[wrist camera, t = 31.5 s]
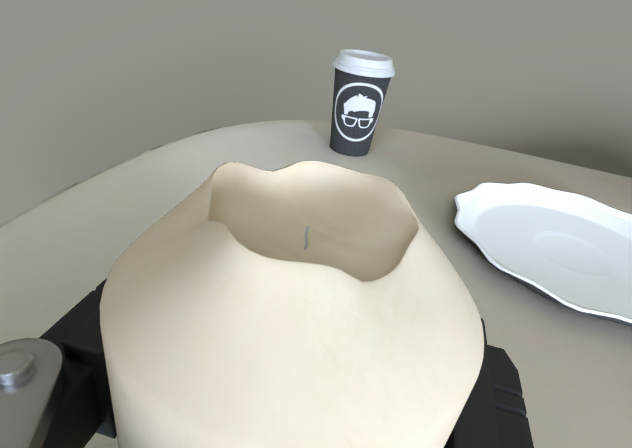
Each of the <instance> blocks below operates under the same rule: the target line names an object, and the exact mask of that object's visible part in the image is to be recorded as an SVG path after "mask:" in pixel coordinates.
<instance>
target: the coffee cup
mask: <svg viewBox="0 0 632 448" xmlns="http://www.w3.org/2000/svg"><path fill="white" fill-rule="evenodd" d="M333 66H334V67H335V82H334V98H333V112H332V125H331V139H330V147H331V149H333V150H334V151H336V152H338V153H340V154H344V155H348V156H363V155H366V154H367V153H368V151H369V148H370V144H371V141H372V138H373V134H374V131H375V128H376V124H377V121H378V118H379V114H380V111H381V108H382V104H383V101H384V98H385V95H386V91H387V88H388V85H389V82H390V79H391V77H393V76H394V75H395V70H394V66H393V65H392V58H391V57H389V56H386V55H383V54H380V53H376V52H371V51H366V50H357V49H343V50H341V51H340V53H339V56H338V57H336V58H335V60H334V62H333Z"/></svg>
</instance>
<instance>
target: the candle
mask: <svg viewBox="0 0 632 448" xmlns="http://www.w3.org/2000/svg"><path fill="white" fill-rule="evenodd" d="M100 327H101V334H102V341H103V348H104V354H105V361H106V367H107V374H108V380H109V387H110V393H111V399H112V406H113V412H114V419H115V425H116V432H117V438H118V444H119V448H444V446H445V444H446V442H447V440H448V438H449V436H450V434H451V432H452V430H453V428H454V426H455V424H456V422H457V419H458V417H459V415H460V413H461V411H462V409H463V407H464V405H465V403H466V401H467V399H468V397H469V395H470V393H471V391H472V389H473V387H474V384H475V382H476V380H477V378H478V375H479V372H480V368H481V365H482V361H483V354H484V335H483V327H482V322H481V319H480V316H479V312H478V309H477V307H476V305H475V303H474V301H473V299H472V297H471V295H470V293H469V291H468V289H467V287H466V286H465V284H464V283H463V281H462V279H461V278H460V276H459V275H458V273H457V272H456V270H455V269H454V267H453V266H452V264H451V263H450V261H449V260H448V258H447V257H446V255H445V254H444V253H443V251H442V250H441V248H440V247H439V246H438V245H437V243H436V242H435V241H434V239H433V238H432V237H431V235H430V234H429V233H428V231H427V230H426V228H425V227H424V226H423V224H422V223H421V221H420V220H419V219H418V217H417V216H416V214H415V212H414V211H413V209H412V207H411V206H410V204H409V202H408V200H407V199H406V197H405V196H404V194H403V192H402V191H401V189H400V188H399V187H397V186H396V185H395V184H394V183H393V182H392V181H390V180H388V179H385V178H383V177H379V176H375V175H369V174H364V173H360V172H356V171H352V170H349V169H346V168H343V167H339V166H336V165H332V164H328V163H324V162H317V161H303V162H297V163H295V164H292V165H290V166H287V167H284V168H281V169H278V170H274V171H267V170H261V169H256V168H254V167H251V166H248V165H245V164H241V163H236V162H232V163H224V164H222V165H220V166H219V167H217V168H216V169H215V170H214V172H213V173H212V174H211V175H210V176H209V177H208V178H207V180H206V181H205V182H204V183H203V184H202V185H201V186H200V187H199V188H197V189H196V190H195V191H194V192H193V193H191V194H190V195H189V196H188V197H187V198H185V199H184V200H183V201H182V202H181V203H179V204H178V205H177V206H176V207H174V208H173V209H172V210H171V211H170V212H168V213H167V214H166V215H165V216H164V217H162V218H161V219H160V220H159V221H158V222H156V223H155V224H154V225H153V226H152V227H150V228H149V229H148V230H147V231H146V232H144V233H143V234H142V235H141V236H140V237H139V238H137V239H136V240H135V241H134V242H133V243H132V244H131V245H130V246H129V247H128V248H127V249H126V250H125V251H124V252H123V254H122V255H121V256H120V257H119V258H118V260H117V261H116V263H115V265H114V266H113V268H112V269H111V271H110V273H109V275H108V278H107V280H106V282H105V285H104V287H103V292H102V297H101V302H100Z"/></svg>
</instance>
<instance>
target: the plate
mask: <svg viewBox="0 0 632 448" xmlns="http://www.w3.org/2000/svg"><path fill="white" fill-rule="evenodd" d="M454 202H455V205H456V208H457V214H456V218H455V221H454V224H455V226H456V228H457V229H458V230H459V231H460V232H461V233H462V234H464V235H465V236H466V237H467V238H468V239H469V240H471V241H472V242H473V243H474V244H475V245H476V246H477V247H478V249H479V250H480V251H481V253H482V254H483V255H484V257H485V258H486V259H487V261H488V262H489V263H490V264H491V265H492V266H494V267H495V268H496V269H498V270H499V271H501V272H503V273H505V274H507V275H508V276H510V277H512V278H513V279H515V280H516V281H518V282H519V283H521V284H523V285H524V286H526V287H527V288H529V289H530V290H532V291H533V292H535V293H538V294H540V295H542V296H544V297H546V298H548V299H550V300H552V301H554V302H556V303H559V304H561V305H562V306H564V307H567V308H569V309H572V310H574V311H577V312H579V313H584V314H588V315H591V316H594V317H597V318H601V319H606V320H611V321H614V322H618V323H621V324H625V325H629V326H632V215H630V214H627V213H624V212H622V211H619V210H616V209H613V208H611V207H608V206H606V205H604V204H602V203H599V202H597V201H595V200H593V199H590V198H588V197H585V196H582V195H579V194H573V193H568V192H562V191H557V190H553V189H549V188H545V187H542V186H538V185H534V184H528V183H517V184H499V183H482V184H479V185H477V186H476V187H475V188H474V189H473V190H471V191H468V192H465V193H461V194H458V195H456V196H455V198H454Z"/></svg>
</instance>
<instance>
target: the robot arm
mask: <svg viewBox="0 0 632 448" xmlns="http://www.w3.org/2000/svg"><path fill="white" fill-rule="evenodd" d="M106 280H107V278H106V279H105V280H104V281H103V282H102V283H101V284H100V285H98V286H97V287H96V290H95V291H92V292H91V293H89V294H88V295H87V296H86V297H85V298H84V299H83V300H81V301H80V302H79V303H78V304H77V305H76V306H75V307H74V308H72V309H71V310H70V311H69V312H68V313H67V314H66V315H65V316H63V317H62V318H61V319H60V320H59V321H58V322H57V323H56V324H54V325H53V326H52V327H51V328H50V329H49V330H48V331H46V332H45V333H44V334H43V335H42V336H41V337H39V338H24V339H18V340H13V341H9V342H6V343H3V344H1V345H0V448H84V447H85V445H86V444H87V443H88V441H89V440H90V439H91V438H92V436H93V435H94V434H95V432H97V433H99V434H102V435H105V436H108V437H111V438H114V439H115V438H116V436H117V432H116V425H115V419H114V412H113V406H112V399H111V393H110V387H109V380H108V374H107V367H106V361H105V354H104V348H103V341H102V334H101V327H100V302H101V297H102V292H103V287H104V285H105V282H106ZM480 319H481V322H482V327H483V335H484V354H483V361H482V365H481V368H480V372H479V375H478V378H477V380H476V382H475V384H474V387H473V389H472V391H471V393H470V395H469V397H468V399H467V401H466V403H465V405H464V407H463V409H462V411H461V413H460V415H459V417H458V419H457V422H456V424H455V426H454V428H453V430H452V432H451V434H450V436H449V438H448V440H447V442H446V444H445V446H444V448H534V446H533V442H532V437H531V432H530V427H529V422H528V418H526V408H525V403H524V398H522V394H523V393H522V388H521V384H520V379H519V374H518V370H517V369H516V367H515V366H514V364H513V363H512V361H511V360H510V358H509V357H508V355H507V354H506V352H505V350H504V349H501V348H497V347H494V346H490V345H487V340H486V333H485V325H484V321H483V319H482V318H480Z"/></svg>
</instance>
